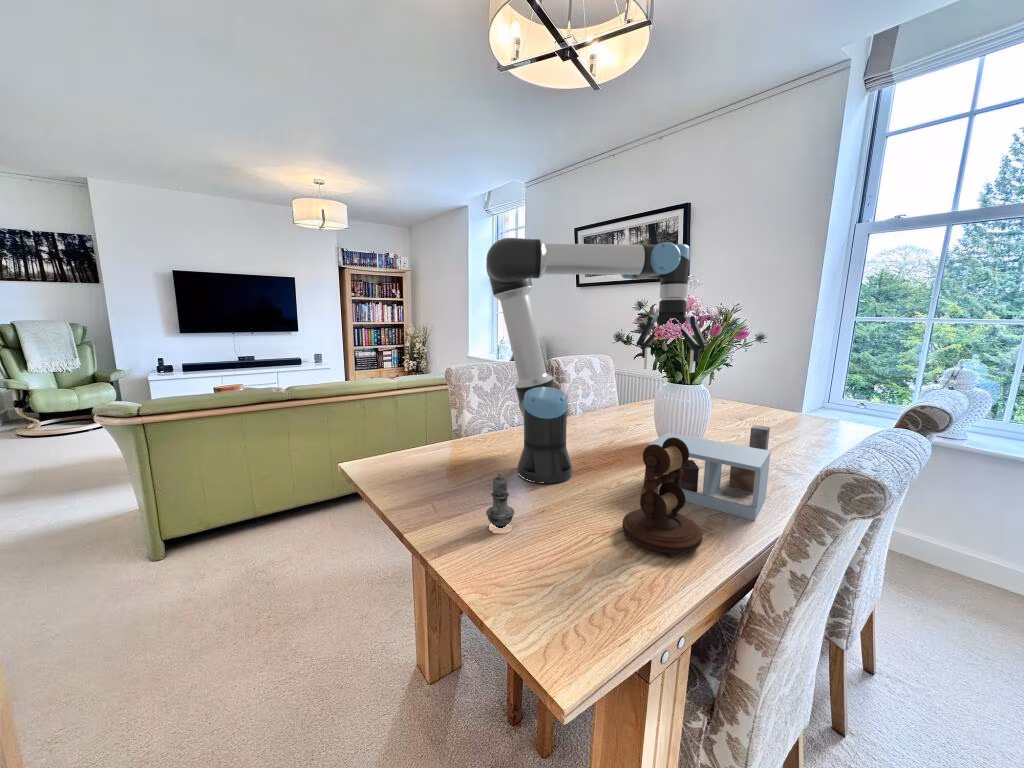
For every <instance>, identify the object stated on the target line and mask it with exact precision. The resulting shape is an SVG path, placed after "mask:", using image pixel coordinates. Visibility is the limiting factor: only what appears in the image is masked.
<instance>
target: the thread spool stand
mask: <svg viewBox="0 0 1024 768" xmlns="http://www.w3.org/2000/svg"><path fill="white" fill-rule="evenodd" d="M642 452H643V453H642V460H643V464H644V466H645V470H644V478H643V483H642V487H641V493H640V499H639V505H640V508H639V509H635V510H633V511H630V512H628V513H627V514H626V515H625V516H624V517H623V519H622V531H623V534H624V537H627V538H629V540H631V541H633V542H634V543H635V544H638V545H640V546H642V547H644V548H646V549H650V550H653V551H656V552H663V553H666V556H667V558H668V559H671V558H672V557H673V556H674V554H680V553H688V552H692V551H694V550H696V549H697V548H699V547H700V546H701V545H702V542H703V530H702V529H701V527H700V526H699V525H698V524H697V523H696V522H695V521H693V519H690V518H689V517H687V516H686V515H684V514H681V513H679V512H680V510H682V509H683V508H684V507H685V505H686V499H685V494H684V492H683V490H682V489H681V488H680V487H681V486H680V482H679V480H681V478H682V476H683V470H682V469H681V467H682V465H684V464H685V463H686V462H687V461H688V460H690V459H689V458H690V457H689V450H688V447H687V446H686V444H685V443H684V442H683V441H682V440H680V439H678V438H674V437H672V438H668V439H667V440H665V441H664V443H663V445H662V447H661V446H659V445H656V444H652V445H649V446H648V445H647V446H646V447H645V448H644V450H643V451H642ZM671 479H674V483H672V482H668V481H670V480H671ZM660 484H662V485H661V486H660V489H659V494H658V486H659V485H660Z"/></svg>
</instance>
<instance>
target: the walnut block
mask: <svg viewBox="0 0 1024 768" xmlns="http://www.w3.org/2000/svg"><path fill="white" fill-rule="evenodd" d="M770 430H771V426H765V425H759V424H753V425H752V426H751V427H750V435H749V436H750V437H749V445H748V447H752V448H757V449H763V450H768V449H769V439H770ZM729 470H730V471H729V480H728V487H730V488H735V489H740V490H743V491H747V492H752V493H753V489H754V479H755V471H753V470H748V469H743V468H738V467H734V466H730V469H729Z"/></svg>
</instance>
